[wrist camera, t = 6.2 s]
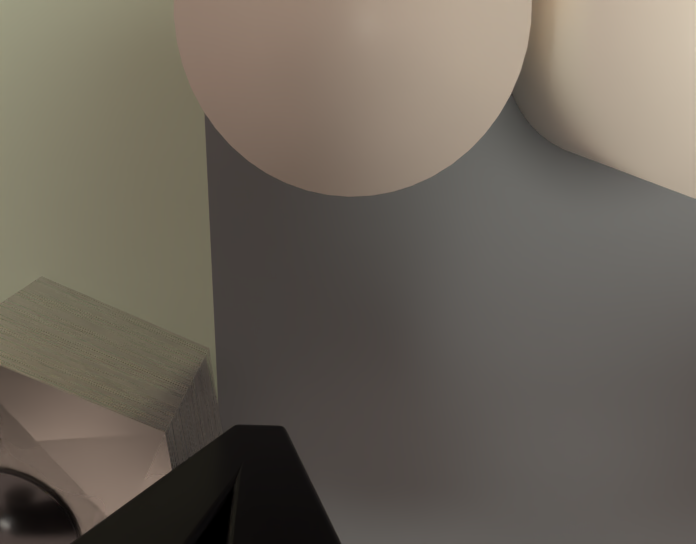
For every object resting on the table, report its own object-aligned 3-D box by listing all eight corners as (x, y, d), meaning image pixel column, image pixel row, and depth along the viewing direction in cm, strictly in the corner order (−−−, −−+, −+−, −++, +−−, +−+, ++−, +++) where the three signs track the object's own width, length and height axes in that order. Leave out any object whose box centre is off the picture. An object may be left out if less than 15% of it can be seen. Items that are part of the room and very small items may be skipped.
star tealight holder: (196, 264, 9) (143, 328, 7) (243, 562, 11) (212, 697, 9) (-111, 287, 10) (-263, 358, 7) (-22, 578, 11) (-122, 713, 9)
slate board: (1077, 707, 13) (1216, 829, 11) (-90, 682, 13) (-174, 798, 11) (1437, -53, 9) (1771, -92, 7) (-276, -84, 9) (-465, -132, 7)
